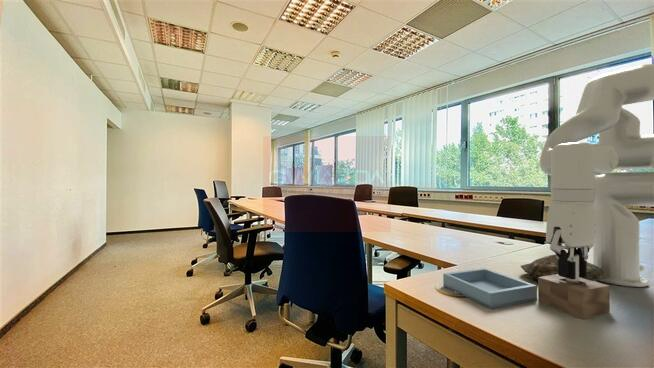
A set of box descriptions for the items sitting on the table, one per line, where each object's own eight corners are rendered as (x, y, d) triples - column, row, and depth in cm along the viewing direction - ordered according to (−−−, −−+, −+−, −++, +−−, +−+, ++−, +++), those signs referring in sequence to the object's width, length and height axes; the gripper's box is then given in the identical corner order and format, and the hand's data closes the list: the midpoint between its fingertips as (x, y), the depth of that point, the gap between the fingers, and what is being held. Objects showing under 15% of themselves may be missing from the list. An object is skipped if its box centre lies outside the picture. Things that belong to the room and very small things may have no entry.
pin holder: (563, 297, 70) (563, 273, 70) (609, 312, 61) (609, 285, 61) (538, 302, 67) (538, 277, 67) (582, 319, 58) (582, 290, 58)
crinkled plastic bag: (505, 256, 88) (555, 241, 92) (511, 284, 88) (560, 267, 92) (558, 271, 72) (615, 252, 76) (564, 304, 72) (620, 283, 77)
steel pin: (569, 304, 66) (569, 253, 66) (582, 308, 63) (581, 256, 63) (563, 305, 65) (562, 254, 65) (575, 310, 62) (574, 257, 62)
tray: (484, 279, 82) (484, 268, 82) (537, 299, 68) (536, 285, 68) (443, 286, 78) (443, 273, 78) (490, 308, 63) (490, 293, 63)
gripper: (576, 195, 70) (576, 268, 70) (530, 197, 65) (530, 275, 65) (615, 197, 63) (615, 278, 63) (566, 198, 58) (566, 286, 58)
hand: (572, 275), depth 64 cm, fingers open, 3 cm apart
